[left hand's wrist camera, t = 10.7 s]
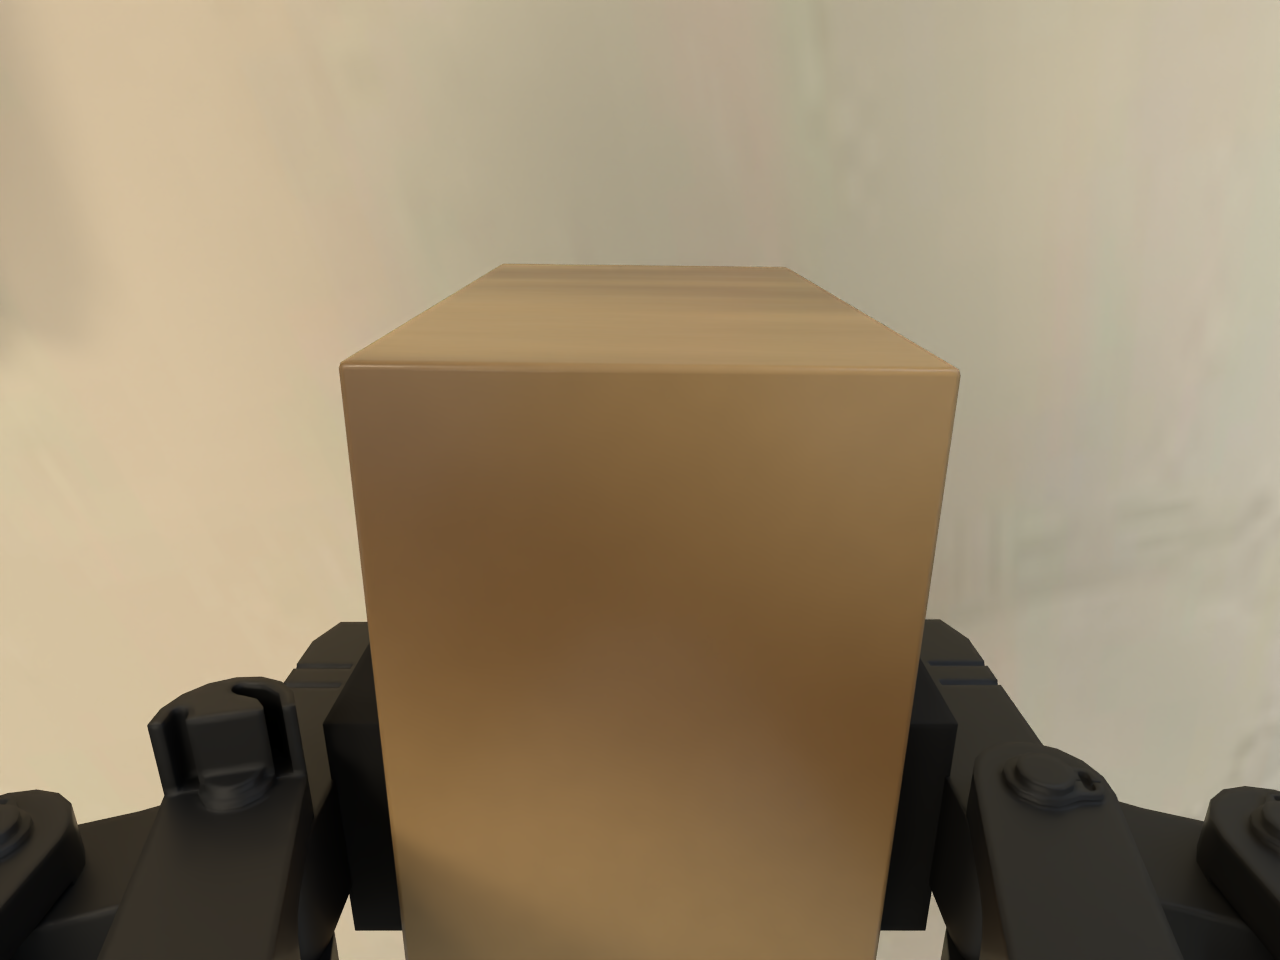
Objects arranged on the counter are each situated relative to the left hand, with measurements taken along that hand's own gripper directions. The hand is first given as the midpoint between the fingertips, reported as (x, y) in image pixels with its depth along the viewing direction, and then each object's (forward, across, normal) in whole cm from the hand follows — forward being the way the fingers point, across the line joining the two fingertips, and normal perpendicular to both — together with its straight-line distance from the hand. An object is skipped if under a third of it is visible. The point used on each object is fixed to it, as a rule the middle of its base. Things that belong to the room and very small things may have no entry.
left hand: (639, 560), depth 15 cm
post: (0, 0, -20) cm, 20 cm away
